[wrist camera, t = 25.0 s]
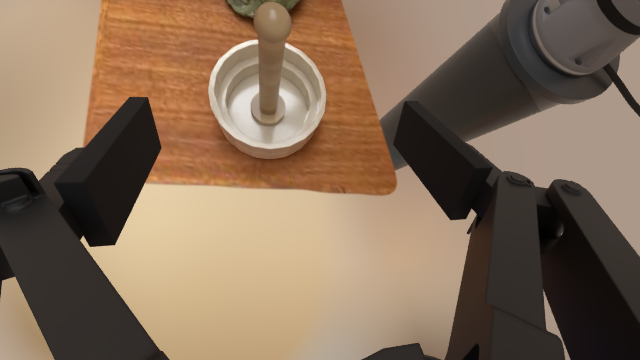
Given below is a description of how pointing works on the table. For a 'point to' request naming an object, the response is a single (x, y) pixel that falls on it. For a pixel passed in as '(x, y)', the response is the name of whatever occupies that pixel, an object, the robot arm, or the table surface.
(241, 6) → the seashell
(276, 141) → the bowl
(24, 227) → the robot arm
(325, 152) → the table surface
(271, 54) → the pestle
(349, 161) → the table surface
